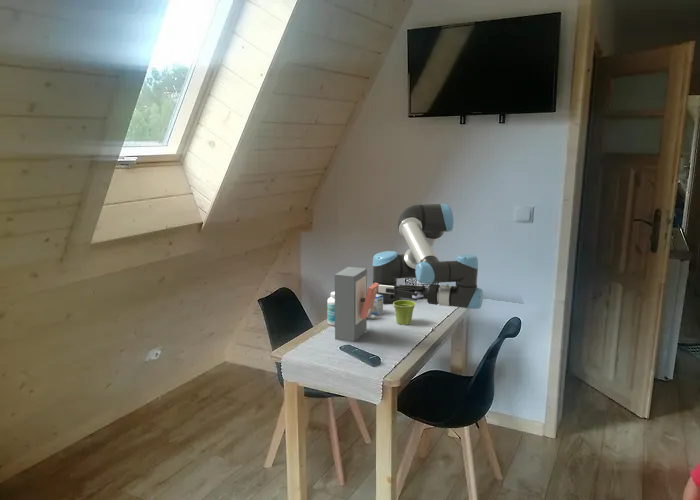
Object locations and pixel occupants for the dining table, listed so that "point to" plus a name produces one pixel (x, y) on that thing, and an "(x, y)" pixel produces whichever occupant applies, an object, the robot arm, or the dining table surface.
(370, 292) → the salmon pink panel
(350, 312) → the switch panel
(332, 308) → the pill bottle
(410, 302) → the plant pot
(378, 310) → the medicine box
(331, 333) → the dining table surface
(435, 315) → the dining table surface
